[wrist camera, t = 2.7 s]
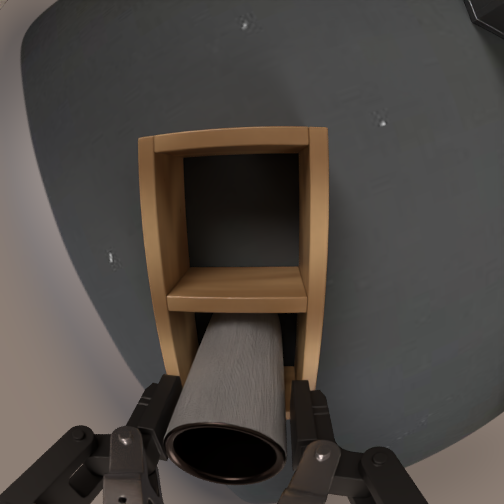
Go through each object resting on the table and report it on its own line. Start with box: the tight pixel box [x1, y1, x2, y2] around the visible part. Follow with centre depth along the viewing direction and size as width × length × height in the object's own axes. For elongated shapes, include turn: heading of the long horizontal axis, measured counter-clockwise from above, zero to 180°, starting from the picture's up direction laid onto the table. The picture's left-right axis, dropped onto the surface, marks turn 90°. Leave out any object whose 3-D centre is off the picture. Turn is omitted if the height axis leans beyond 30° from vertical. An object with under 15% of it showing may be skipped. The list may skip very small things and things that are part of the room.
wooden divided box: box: [138, 126, 329, 419], centre depth 15 cm, size 15×8×4 cm, turn 2°
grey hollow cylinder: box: [163, 313, 287, 485], centre depth 13 cm, size 4×4×10 cm
